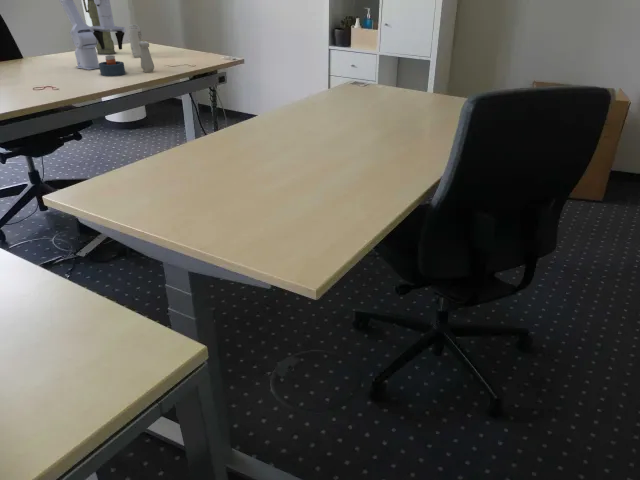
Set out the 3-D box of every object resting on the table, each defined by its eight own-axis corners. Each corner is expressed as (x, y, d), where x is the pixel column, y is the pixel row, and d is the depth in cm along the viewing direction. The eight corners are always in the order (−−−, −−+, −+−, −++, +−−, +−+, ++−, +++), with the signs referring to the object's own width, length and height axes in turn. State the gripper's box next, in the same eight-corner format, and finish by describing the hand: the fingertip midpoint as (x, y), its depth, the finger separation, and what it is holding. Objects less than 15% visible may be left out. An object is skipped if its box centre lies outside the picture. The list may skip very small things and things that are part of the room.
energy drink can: (134, 55, 283) (128, 24, 275) (146, 55, 284) (140, 24, 276) (131, 57, 278) (125, 26, 270) (143, 57, 279) (138, 26, 271)
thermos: (120, 53, 286) (105, -21, 268) (96, 55, 280) (80, -21, 262) (116, 51, 292) (102, -22, 274) (93, 52, 286) (77, -22, 268)
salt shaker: (152, 73, 246) (147, 42, 240) (140, 72, 246) (134, 42, 240) (156, 70, 251) (152, 40, 245) (144, 70, 251) (139, 40, 245)
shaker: (106, 72, 241) (103, 56, 238) (113, 71, 244) (110, 55, 241) (112, 73, 240) (109, 57, 236) (119, 72, 243) (116, 56, 239)
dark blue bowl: (96, 74, 241) (93, 63, 238) (115, 70, 248) (113, 60, 246) (111, 77, 236) (109, 66, 234) (130, 73, 244) (128, 62, 242)
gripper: (84, 16, 230) (92, 50, 237) (119, 17, 231) (125, 50, 238) (91, 14, 236) (98, 47, 243) (124, 15, 237) (130, 48, 244)
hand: (112, 49), depth 241 cm, fingers open, 7 cm apart
